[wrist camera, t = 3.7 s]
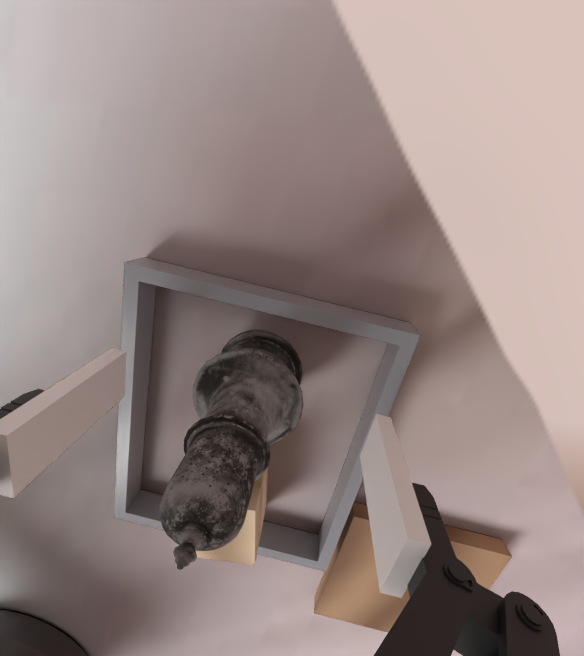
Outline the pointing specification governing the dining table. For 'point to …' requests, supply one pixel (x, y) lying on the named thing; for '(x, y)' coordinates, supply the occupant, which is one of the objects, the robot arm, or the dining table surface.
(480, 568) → the light brown wooden board
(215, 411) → the dark grey chess piece
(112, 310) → the dining table surface
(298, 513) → the dining table surface
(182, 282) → the tray
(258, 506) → the beech block
